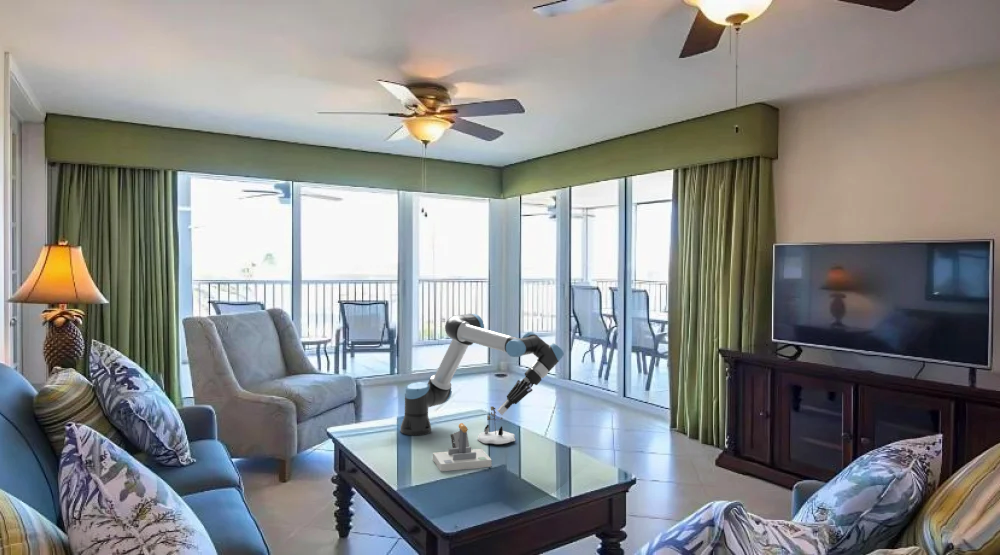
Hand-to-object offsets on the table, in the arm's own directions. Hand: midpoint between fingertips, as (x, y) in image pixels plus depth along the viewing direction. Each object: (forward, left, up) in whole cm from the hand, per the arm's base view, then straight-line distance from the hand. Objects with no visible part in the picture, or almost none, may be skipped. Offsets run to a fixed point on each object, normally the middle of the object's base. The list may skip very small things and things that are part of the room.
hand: (499, 412), depth 253 cm
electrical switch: (-18, -12, -21) cm, 31 cm away
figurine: (-26, +9, -21) cm, 35 cm away
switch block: (0, -16, -21) cm, 27 cm away
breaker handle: (0, -16, -16) cm, 23 cm away
